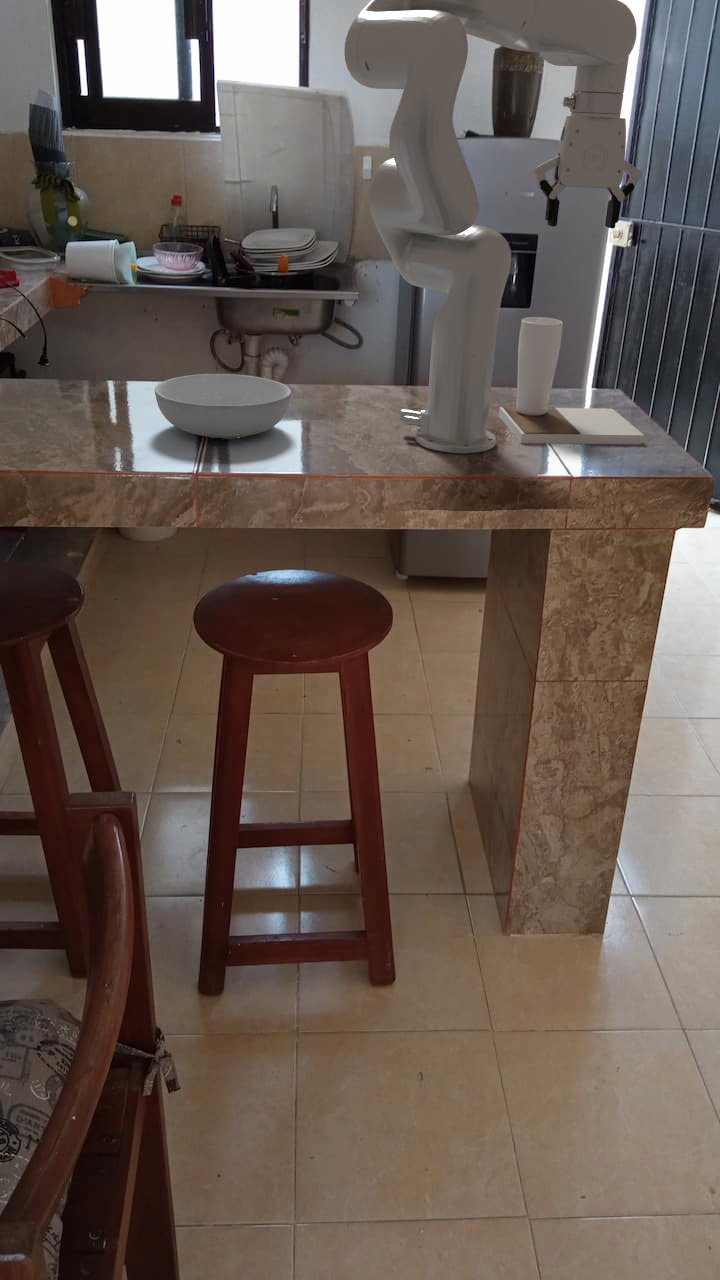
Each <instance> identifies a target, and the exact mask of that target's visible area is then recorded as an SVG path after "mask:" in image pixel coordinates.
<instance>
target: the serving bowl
mask: <svg viewBox="0 0 720 1280" xmlns="http://www.w3.org/2000/svg"><path fill="white" fill-rule="evenodd" d="M154 395H155V400H156V403H157V406H158V409H159V411H160V413H161V414H162V415H163V417H164V418H165V419H166V420H167V421H168V422H169V423H170V424H171V425H173V426H174V427H176V428H177V429H180V430H182V431H184V432H187V433H189V434H194V435H197V436H201V437H203V436H205V437H204V438H207V437H210V438H209V439H214V438H223V439H222V440H227V439H226V438H236V439H239V438H238V437H242V438H244V437H243V436H246V437H248V436H252V435H257V434H261V433H263V432H266V431H268V430H269V429H272V428H273V427H275V426H276V425H277V424H279V423H280V422H281V420H283V418H284V416H285V415H286V414H287V412H288V409H289V406H290V403H291V398H292V397H291V396H292V390H291V388H290V387H288V386H287V385H285V384H284V383H281V382H279V381H276V380H273V379H269V378H265V377H259V376H254V375H253V376H252V375H245V374H232V373H231V374H230V373H229V374H228V373H203V374H191V375H183V376H179V377H174V378H170V379H167V380H164V381H161V382H160V383H158V384H157V385H156V386H155V387H154Z"/></svg>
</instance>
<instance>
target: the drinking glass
mask: <svg viewBox="0 0 720 1280" xmlns="http://www.w3.org/2000/svg"><path fill="white" fill-rule="evenodd" d="M563 324H564V322H563V321H562V320H560V319H558V318H551V317H544V316H529V317H524V318H521V323H520V328H519V336H518V348H517V378H516V379H517V380H516V381H517V382H516V383H517V386H516V387H517V388H516V403H515V406H516V410H517V412H519V413H521V414H524V415H529V416H540V415H544V414H546V413H547V411H548V407H549V403H550V397H551V392H552V388H553V383H554V378H555V375H556V374H555V373H556V369H557V365H558V360H559V355H560V351H561V344H562V337H563Z"/></svg>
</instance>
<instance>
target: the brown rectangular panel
mask: <svg viewBox="0 0 720 1280" xmlns="http://www.w3.org/2000/svg"><path fill="white" fill-rule="evenodd" d="M502 407H503V408H504V410H505V411H506V412H507V413H508V414H509V416H510V417H511V418H512V419H513V420H514V422H515V423H516V424H517V425H518V426H519V427H520V429H521V430H522V431H523V432H524V433H525V434H580V432H579V431H578V430H577V429H576V428H575V427H574V426H573V425H572V424H571V423H570V422H569V421H568V420H567V419H566V418H565V417H564V416H563V415H562V414H561V413H560V412H559V411H558V410H557V409H556V408H557V407H555V406H548V411H547V413H546V414H544V415H540V416H529V415H524V414H521V413H519V412H517V410H516V405H513V406H512V405H502Z"/></svg>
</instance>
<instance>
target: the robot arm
mask: <svg viewBox="0 0 720 1280" xmlns="http://www.w3.org/2000/svg"><path fill="white" fill-rule="evenodd" d="M637 31H638V28H637V22H636V20H635V16H634V14H633V12H632V10H631V9H630V7H629V6H627V5H626V3H624V2H622V1H620V0H370V2H368V4H367V5H366V6H365V7H364V8H363V9H362V10H361V11H360V12H359V13H358V14H357V15H356V17H355V19H353V21H352V22H351V25H350V27H349V29H348V31H347V34H346V36H345V37H346V38H345V42H344V60H345V61H344V62H345V65H346V68H347V70H348V72H349V73H350V76H351V77H352V78H353V80H355V81H356V82H357V83H359V84H360V86H361V85H362V86H364V87H367V88H371V89H382V90H383V89H384V90H385V89H386V90H403V92H402V94H401V98H400V101H399V104H398V106H397V110H396V112H395V115H394V117H393V120H392V123H391V127H390V130H389V138H388V139H389V148H390V153H391V156H392V158H389V159H387V160H385V161H384V162H382V163H381V164H380V165H379V166H378V167H377V169H375V171H374V173H373V175H372V177H371V179H370V183H369V189H368V204H369V211H370V214H371V218H372V220H373V222H374V225H375V227H376V229H377V231H378V233H379V236H380V237H381V240H382V242H383V244H384V245H385V248H386V249H387V252H388V254H389V256H390V257H391V259H392V262H393V264H394V265H395V268H396V269H397V271H398V273H399V274H400V275H401V277H402V278H403V279H404V280H405V281H406V282H407V283H408V284H410V285H412V286H415V287H418V288H422V289H426V290H432V291H439V292H444V293H447V297H446V299H445V301H444V302H443V304H442V306H441V307H440V309H439V310H438V312H437V314H436V315H435V317H434V321H433V324H432V325H433V326H432V331H431V332H432V334H431V350H430V351H431V352H430V363H429V377H428V378H429V380H428V391H427V392H428V395H427V405H426V407H427V408H426V409H421V411H418V410H417V411H416V410H414V409H405V408H402V409H401V412H400V416H399V417H400V422H403V425H406V426H407V425H408V426H416V427H417V428H418V430H416V432H415V439H414V440H415V442H416V443H417V444H419V445H420V446H422V447H424V448H426V449H430V450H433V451H438V452H441V453H442V452H443V453H449V454H450V453H451V454H475V453H476V454H477V453H482V452H486V451H489V450H491V449H493V448H494V447H495V446H496V441H497V437H496V435H495V434H494V433H492V432H491V431H489V430H488V423H489V415H490V414H489V412H490V403H491V402H490V401H491V393H492V384H493V383H492V382H493V371H494V363H495V362H494V361H495V354H496V343H497V342H496V340H497V332H498V324H499V315H500V309H501V303H502V299H503V295H504V293H505V292H504V291H505V288H506V285H507V280H508V278H509V274H510V271H511V266H512V265H511V264H512V251H511V247H510V245H509V242H508V241H507V238H505V236H503V235H502V234H501V233H500V232H498V231H496V230H495V229H493V228H489V227H487V226H484V225H476V224H475V222H476V220H477V217H478V214H479V198H478V197H479V196H478V193H477V189H476V186H475V182H474V181H473V178H472V175H471V173H470V170H469V166H468V163H467V162H466V159H465V156H464V153H463V151H462V149H461V147H460V143H459V141H458V138H457V134H456V131H455V127H454V120H453V119H454V109H455V103H456V100H457V95H458V92H459V88H460V84H461V81H462V78H463V75H464V71H465V69H466V65H467V59H468V55H469V54H468V53H469V51H468V50H469V47H468V46H469V43H468V36H467V35H470V36H473V37H476V38H479V39H480V40H481V39H482V40H485V41H487V42H491V43H492V44H496V45H500V46H501V47H504V48H506V49H511V50H514V51H520V52H521V51H522V52H530V53H539V54H540V57H541V58H542V59H543V60H544V61H545V62H546V63H548V64H551V65H552V66H553V65H554V66H558V67H576V69H575V78H574V79H575V80H574V88H573V92H571V95H569V96H564V97H563V101H562V105H563V107H564V108H569V112H570V115H566V117H565V121H564V122H563V123H564V124H563V126H562V127H563V128H562V131H561V135H560V139H559V143H558V146H557V147H558V148H557V153H556V155H555V157H552V158H551V159H548V160H546V161H544V162H543V163H540V164H538V165H536V166H535V167H534V169H533V172H534V175H535V179H536V181H537V185H538V187H539V189H540V190H541V191H542V193H543V194H544V196H545V198H547V199H546V208H545V216H544V218H545V221H547V225H548V226H549V227H554V228H555V227H556V226H557V225H558V217H559V209H560V200H559V199H558V196H559V195H560V194H561V192H563V190H565V188H567V187H569V188H584V189H585V188H586V189H588V188H589V189H606V190H607V191H608V193H609V195H610V196H611V198H610V199H609V200H608V202H607V207H606V213H605V222H604V227H606V228H608V229H616V224H617V223H618V222H619V220H620V214H621V208H622V202H623V201H625V199H626V197H628V195H630V194H631V193H632V192H633V191H635V190H634V189H635V187H636V185H637V184H638V182H640V179H641V177H642V176H643V172H642V171H641V170H640V169H638V168H637V167H635V166H634V165H633V164H631V163H630V162H629V161H627V160H625V159H626V148H627V147H626V144H627V141H626V140H627V123H626V122H627V121H626V120H627V119H626V118H624V117H621V113H622V107H623V106H622V105H623V100H624V93H625V87H626V79H627V73H628V64H629V58H630V55H631V53H632V51H633V50H634V46H635V44H636V40H637V33H638V32H637ZM553 169H554V171H553V172H554V174H553V175H554V177H553V178H554V179H553V180H554V182H553V183H552V184H550V183H549V182H548V180H547V177H546V173H547V172H549V171H551V170H553ZM624 172H625V173H626V174H628V177H629V178H628V179H627V181H626V182H625V183H624V184H623V185H622V182H623V178H624ZM621 185H622V186H621ZM620 186H621V187H620Z"/></svg>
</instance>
